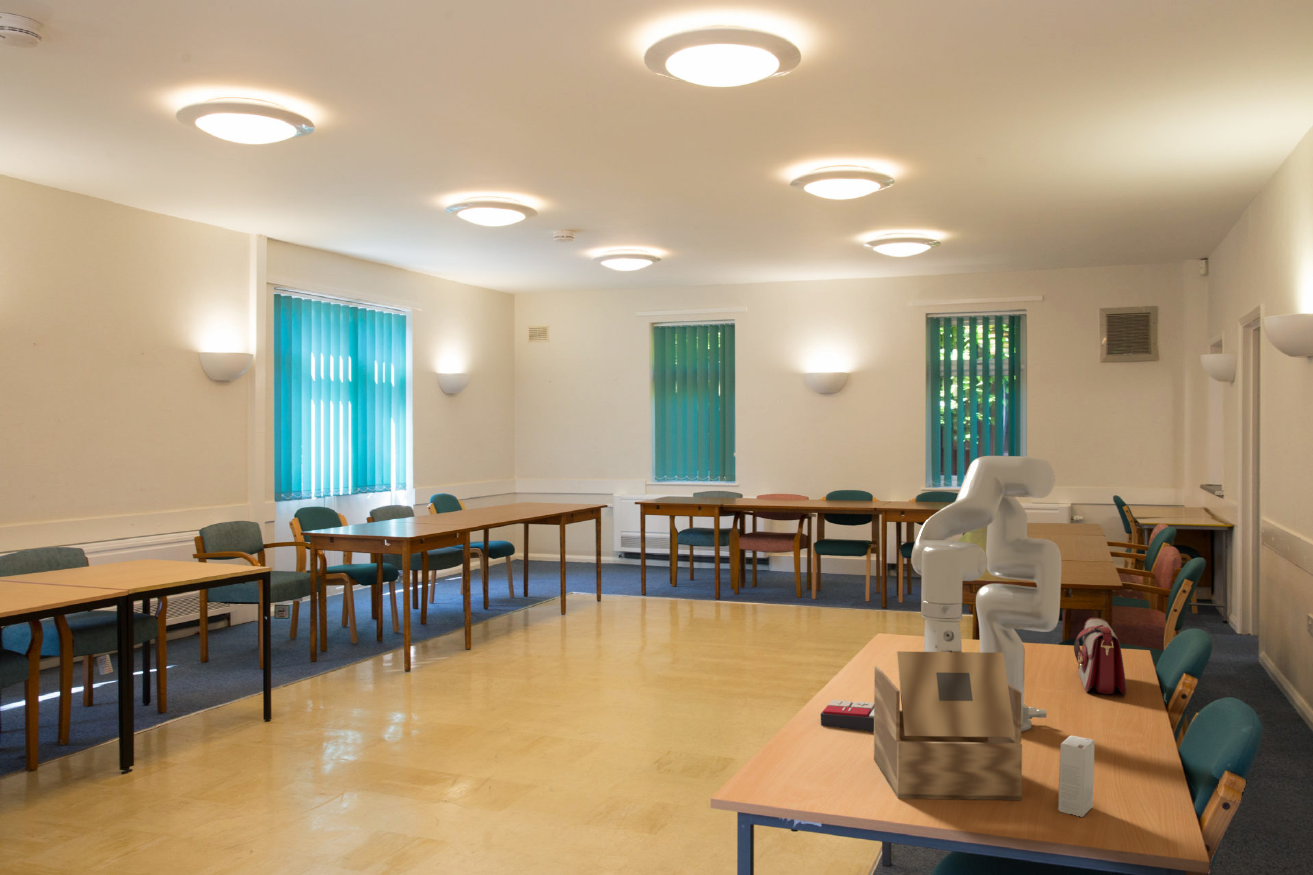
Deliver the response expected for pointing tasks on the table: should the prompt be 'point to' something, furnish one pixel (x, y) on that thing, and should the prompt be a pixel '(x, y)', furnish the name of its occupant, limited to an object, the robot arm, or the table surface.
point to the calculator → (849, 715)
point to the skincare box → (1076, 775)
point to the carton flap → (955, 694)
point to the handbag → (1100, 658)
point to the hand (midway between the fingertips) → (940, 705)
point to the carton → (944, 755)
